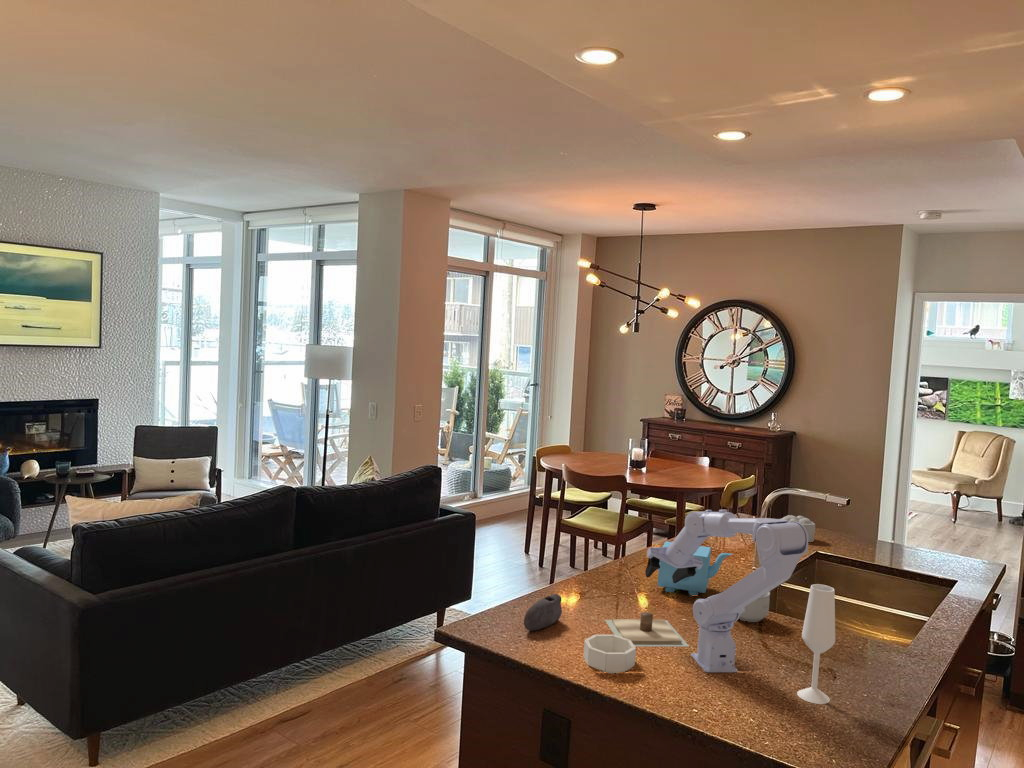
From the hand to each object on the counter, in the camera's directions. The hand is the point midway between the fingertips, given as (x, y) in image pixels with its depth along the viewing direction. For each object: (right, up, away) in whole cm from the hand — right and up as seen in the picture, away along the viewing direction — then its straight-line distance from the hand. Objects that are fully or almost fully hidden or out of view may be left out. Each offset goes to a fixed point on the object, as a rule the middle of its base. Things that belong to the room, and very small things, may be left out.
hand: (660, 577), depth 201 cm
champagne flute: (+27, -18, -33) cm, 46 cm away
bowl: (-16, -15, -21) cm, 30 cm away
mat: (-4, -14, -3) cm, 15 cm away
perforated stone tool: (-31, -13, -1) cm, 33 cm away
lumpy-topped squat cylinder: (+73, -11, +104) cm, 128 cm away
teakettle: (+14, -13, +34) cm, 39 cm away
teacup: (+27, -15, +15) cm, 34 cm away
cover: (-4, -13, -3) cm, 14 cm away
